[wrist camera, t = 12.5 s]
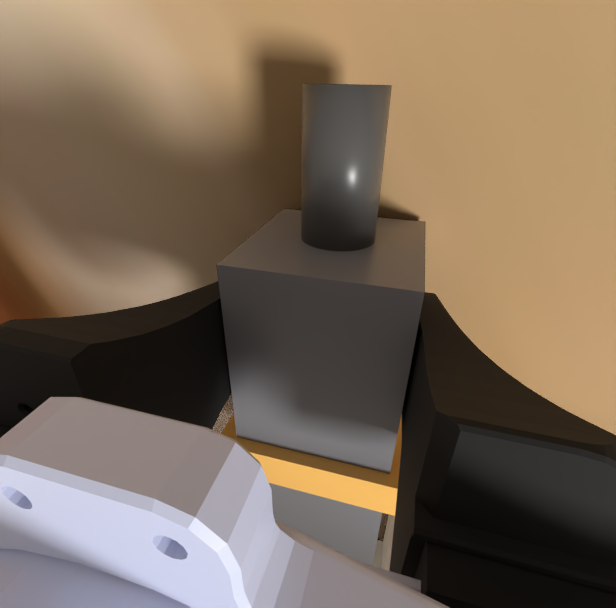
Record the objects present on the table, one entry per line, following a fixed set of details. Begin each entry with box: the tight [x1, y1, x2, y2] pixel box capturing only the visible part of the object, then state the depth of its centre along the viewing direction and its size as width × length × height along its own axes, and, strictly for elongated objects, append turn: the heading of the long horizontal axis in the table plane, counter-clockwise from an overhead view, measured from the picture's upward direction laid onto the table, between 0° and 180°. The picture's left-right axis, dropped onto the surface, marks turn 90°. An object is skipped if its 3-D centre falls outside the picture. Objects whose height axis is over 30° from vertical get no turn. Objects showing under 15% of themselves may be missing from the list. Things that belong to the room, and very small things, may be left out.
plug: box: [217, 84, 425, 566], centre depth 12 cm, size 6×15×5 cm, turn 179°
